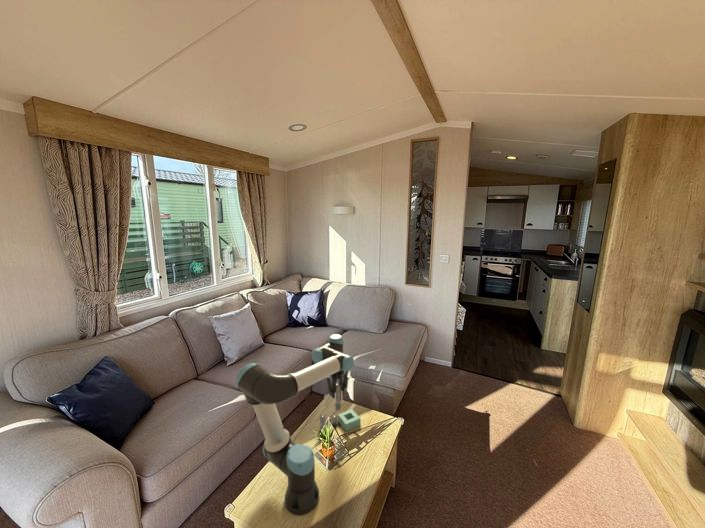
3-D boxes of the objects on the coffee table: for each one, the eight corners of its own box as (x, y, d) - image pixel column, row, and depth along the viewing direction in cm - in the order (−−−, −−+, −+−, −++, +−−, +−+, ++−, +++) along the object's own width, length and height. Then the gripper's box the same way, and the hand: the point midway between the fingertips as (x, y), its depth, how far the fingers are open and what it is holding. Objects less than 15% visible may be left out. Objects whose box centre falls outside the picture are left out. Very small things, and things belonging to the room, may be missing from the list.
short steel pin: (333, 426, 179) (332, 418, 179) (330, 423, 182) (330, 415, 181) (337, 424, 181) (337, 416, 180) (335, 421, 184) (335, 413, 183)
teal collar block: (345, 431, 175) (345, 424, 175) (337, 420, 184) (337, 414, 183) (360, 424, 180) (360, 418, 180) (352, 415, 189) (352, 408, 188)
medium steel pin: (321, 432, 175) (321, 418, 173) (319, 429, 177) (318, 415, 176) (326, 430, 176) (326, 416, 175) (324, 427, 179) (323, 413, 177)
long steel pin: (336, 411, 168) (336, 386, 165) (334, 407, 170) (333, 383, 167) (341, 409, 169) (341, 384, 166) (339, 405, 172) (338, 382, 169)
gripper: (326, 370, 157) (327, 410, 162) (353, 361, 165) (353, 400, 170) (320, 363, 164) (321, 402, 168) (346, 355, 172) (347, 393, 176)
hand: (337, 401), depth 169 cm, fingers closed on long steel pin, 3 cm apart
